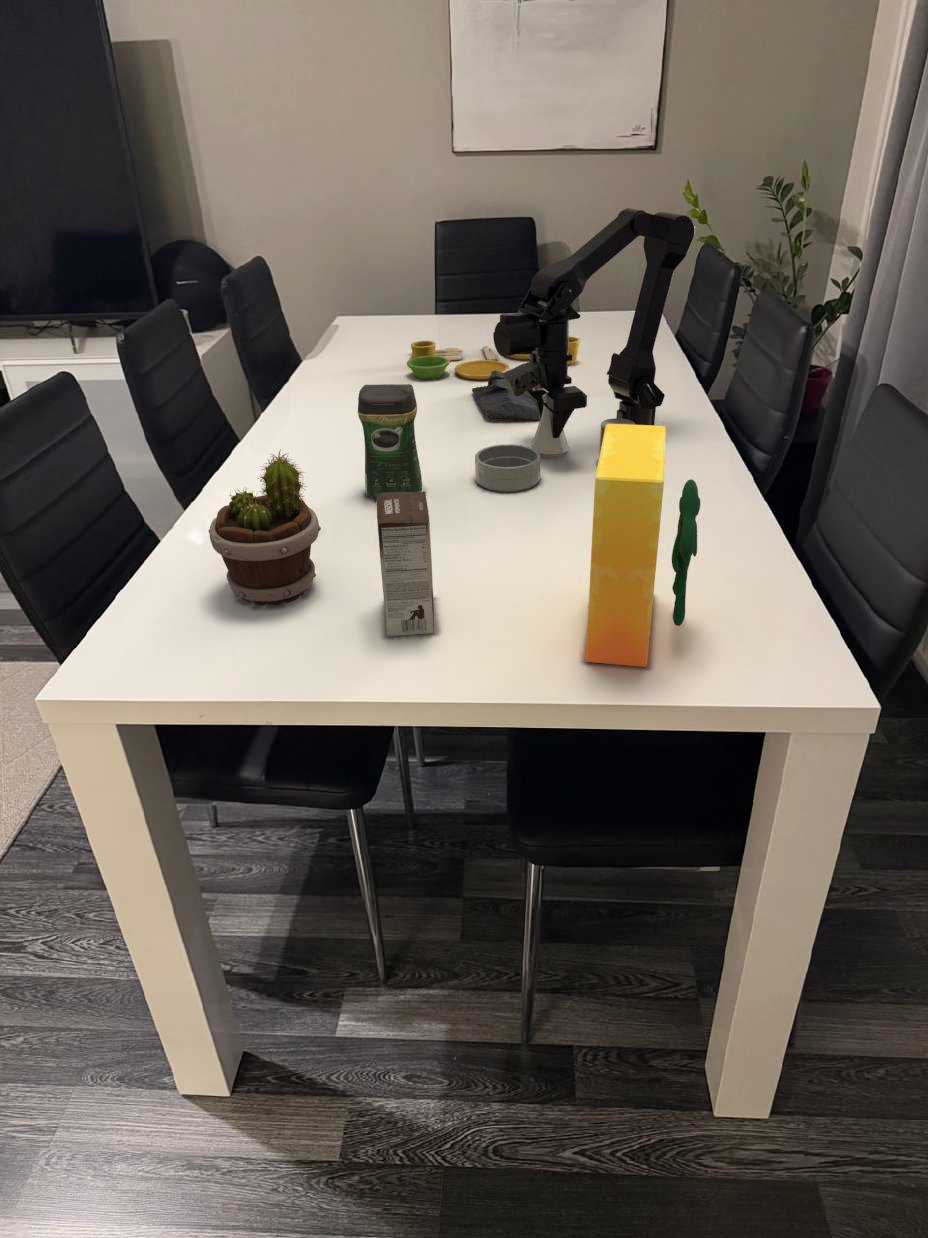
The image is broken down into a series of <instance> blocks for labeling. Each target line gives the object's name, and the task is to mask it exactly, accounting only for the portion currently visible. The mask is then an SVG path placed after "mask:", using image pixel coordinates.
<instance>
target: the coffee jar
mask: <svg viewBox="0 0 928 1238" xmlns="http://www.w3.org/2000/svg"><path fill="white" fill-rule="evenodd" d="M415 394H416V393H415V390H414V387H413V385H412V384H411V383H404V384H402V383H401V384H393V383H392V384H389V383H388V384H364V385H363V386H362V387H361V388H360V390H359V392H358V398H357V415H358V420H359V421H360V423H361V426H362V430H363V439H364V441H363V442H364V488H365V494H366V495H367V496H368V497H369V498H371V499H373V500H376V495H377V494H379V493H390V492H422V489H423V479H422V478H423V477H422V471H421V466H420V465H421V464H420V460H419V455H418V449H417V442H416V433H415V432H416V431H415V419H416V416H417V413H418V403H417V399H416V395H415Z"/></svg>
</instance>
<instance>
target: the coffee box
mask: <svg viewBox="0 0 928 1238" xmlns="http://www.w3.org/2000/svg"><path fill="white" fill-rule="evenodd" d="M375 500H376V520H377V536H378V546H379V548H378V549H379V560H380V573H381V583H382V595H383V605H384V606H383V607H384V616H385V626H386V627H385V628H386V635H387V637H394V636H396V637H397V636H410V635H411V636H412V635H429V634H434V633H435V632H436V631H435V630H436V629H435V607H434V603H435V602H434V584H433V561H432V543H431V542H432V541H431V524H430V521H431V520H430V513H429V506H428V499H427V493H426V491H425V490H424V491H420V492H390V493H379V494H377V495H376V499H375Z"/></svg>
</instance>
